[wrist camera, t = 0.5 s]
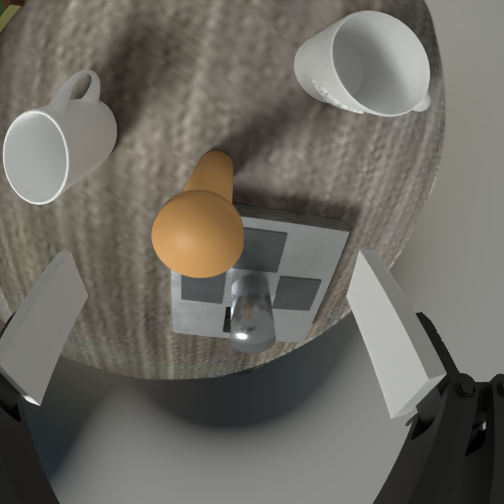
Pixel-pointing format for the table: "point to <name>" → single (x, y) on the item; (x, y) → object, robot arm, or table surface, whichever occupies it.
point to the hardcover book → (8, 10)
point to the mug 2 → (366, 66)
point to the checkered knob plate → (264, 281)
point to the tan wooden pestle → (201, 222)
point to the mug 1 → (59, 142)
